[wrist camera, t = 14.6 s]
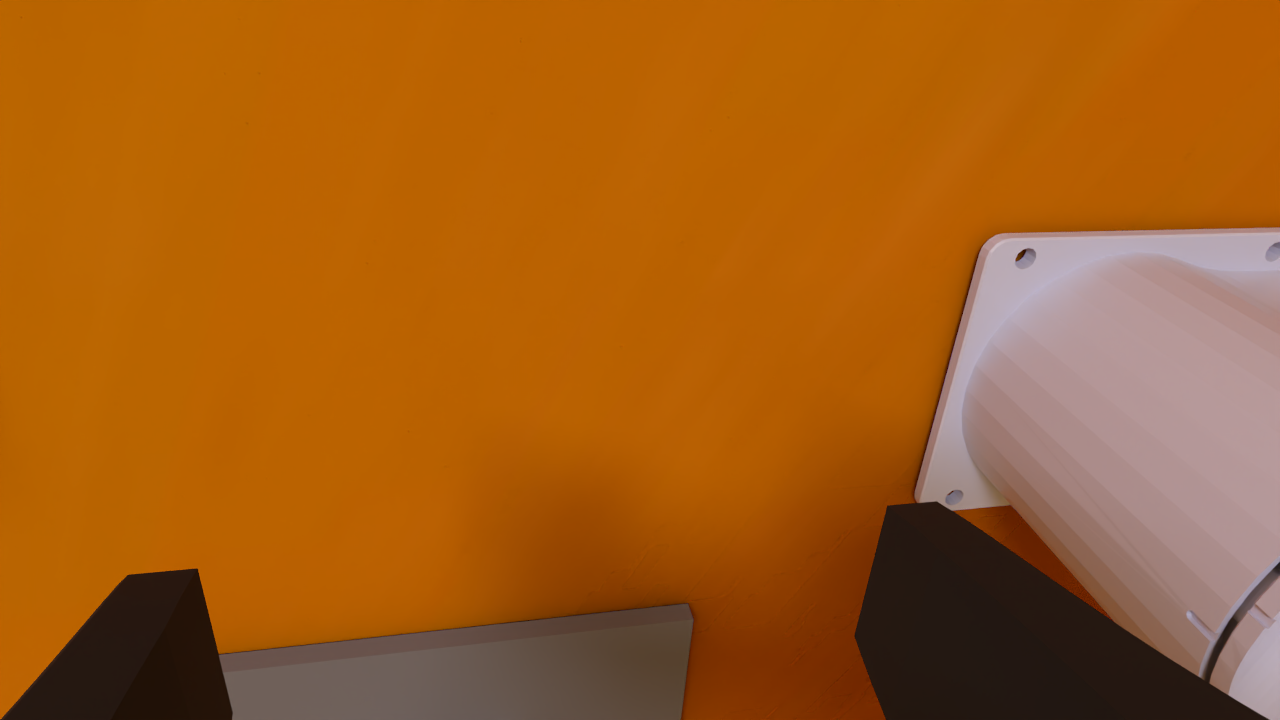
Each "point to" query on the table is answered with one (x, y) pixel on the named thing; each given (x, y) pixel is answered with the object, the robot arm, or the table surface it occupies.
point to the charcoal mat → (478, 672)
